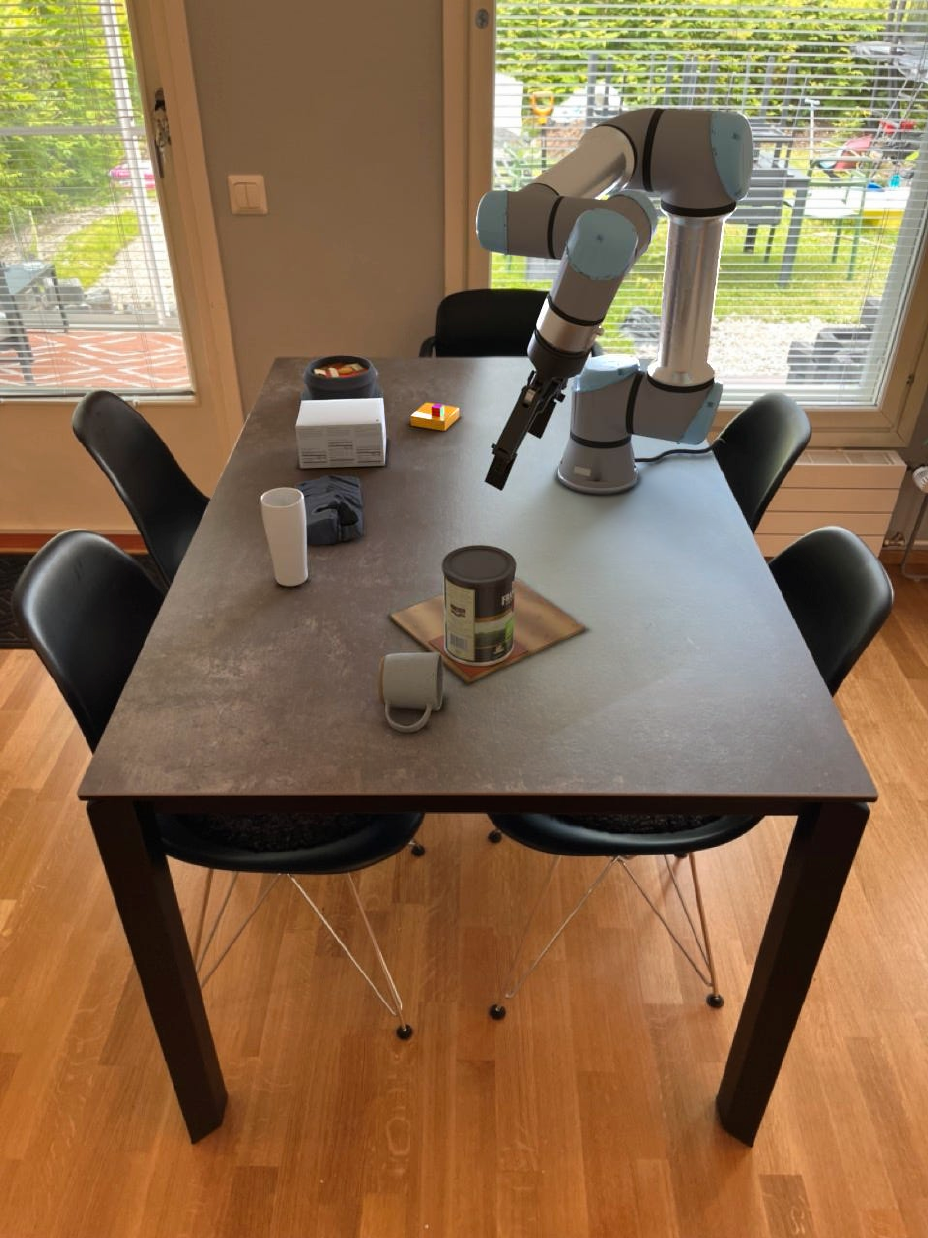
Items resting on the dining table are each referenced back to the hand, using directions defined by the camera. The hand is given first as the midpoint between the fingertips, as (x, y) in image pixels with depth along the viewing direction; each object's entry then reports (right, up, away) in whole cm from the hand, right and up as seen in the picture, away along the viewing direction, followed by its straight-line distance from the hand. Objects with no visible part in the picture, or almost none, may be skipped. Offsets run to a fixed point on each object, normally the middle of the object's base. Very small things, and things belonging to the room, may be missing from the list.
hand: (514, 458), depth 137 cm
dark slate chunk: (-32, -4, +39) cm, 51 cm away
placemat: (-4, -23, +11) cm, 26 cm away
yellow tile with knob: (-13, +20, +74) cm, 78 cm away
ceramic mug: (-14, -35, -5) cm, 38 cm away
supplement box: (-31, +11, +61) cm, 69 cm away
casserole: (-35, +26, +83) cm, 94 cm away
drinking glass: (-35, -16, +22) cm, 44 cm away
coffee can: (-5, -27, +5) cm, 28 cm away
